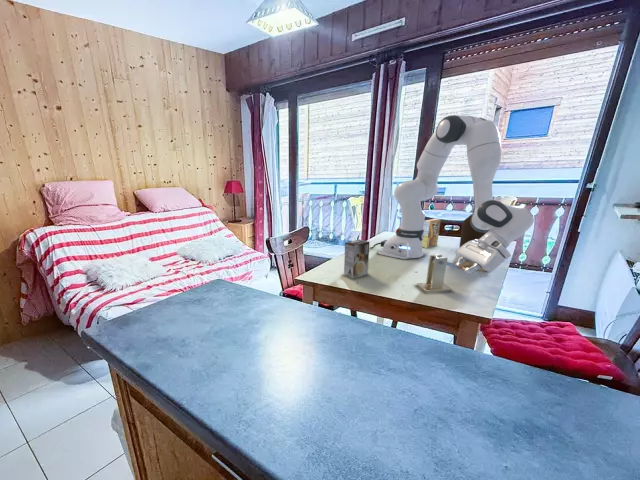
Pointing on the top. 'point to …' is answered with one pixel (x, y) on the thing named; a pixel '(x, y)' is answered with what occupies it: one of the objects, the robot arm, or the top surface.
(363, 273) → the coffee box
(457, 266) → the lever
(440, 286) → the bracket
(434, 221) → the candy box
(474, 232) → the olive oil
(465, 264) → the button block
